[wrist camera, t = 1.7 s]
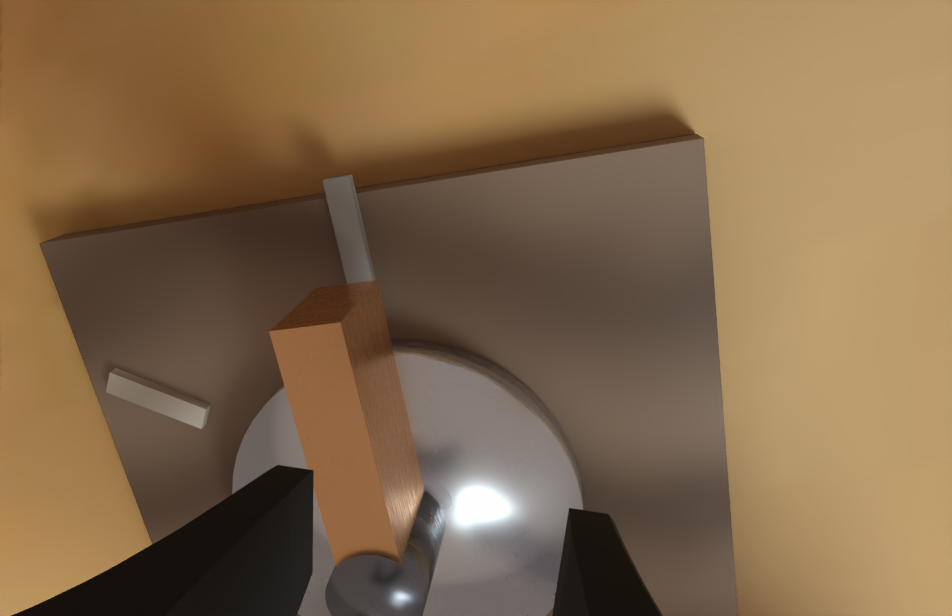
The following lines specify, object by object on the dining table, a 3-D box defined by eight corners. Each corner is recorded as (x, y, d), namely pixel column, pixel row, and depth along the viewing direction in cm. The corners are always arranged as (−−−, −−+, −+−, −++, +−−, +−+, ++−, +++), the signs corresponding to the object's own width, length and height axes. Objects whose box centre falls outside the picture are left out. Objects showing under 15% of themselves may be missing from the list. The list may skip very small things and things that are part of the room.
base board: (737, 688, 23) (747, 723, 22) (233, 703, 26) (217, 734, 25) (695, 113, 18) (704, 117, 16) (57, 218, 21) (24, 228, 19)
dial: (602, 622, 22) (610, 754, 18) (296, 636, 23) (238, 759, 19) (546, 244, 18) (540, 300, 14) (188, 293, 20) (87, 356, 16)
